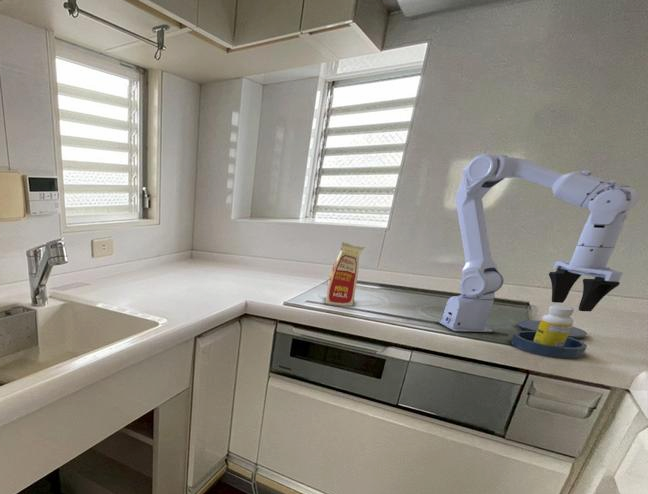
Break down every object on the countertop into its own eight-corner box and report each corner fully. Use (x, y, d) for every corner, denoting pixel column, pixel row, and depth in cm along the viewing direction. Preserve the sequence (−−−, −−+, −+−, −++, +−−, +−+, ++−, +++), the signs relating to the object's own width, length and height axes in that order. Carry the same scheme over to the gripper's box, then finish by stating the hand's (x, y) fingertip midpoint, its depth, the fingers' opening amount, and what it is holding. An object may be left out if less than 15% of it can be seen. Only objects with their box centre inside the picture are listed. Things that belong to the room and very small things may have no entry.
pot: (536, 357, 92) (540, 347, 91) (499, 338, 103) (502, 330, 102) (598, 359, 90) (603, 349, 89) (553, 340, 102) (557, 331, 101)
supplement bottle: (530, 341, 100) (545, 303, 96) (560, 346, 97) (577, 306, 93) (532, 347, 96) (547, 308, 92) (563, 352, 93) (580, 312, 89)
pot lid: (541, 339, 103) (549, 320, 101) (504, 323, 115) (511, 305, 113) (601, 341, 101) (609, 321, 99) (557, 324, 114) (564, 307, 112)
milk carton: (326, 304, 136) (336, 243, 128) (325, 297, 144) (334, 239, 136) (355, 306, 133) (368, 244, 125) (353, 299, 141) (364, 240, 133)
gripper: (650, 250, 81) (619, 315, 86) (586, 242, 94) (564, 299, 99) (610, 250, 81) (582, 314, 87) (553, 242, 95) (532, 298, 100)
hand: (570, 306), depth 93 cm, fingers open, 7 cm apart
